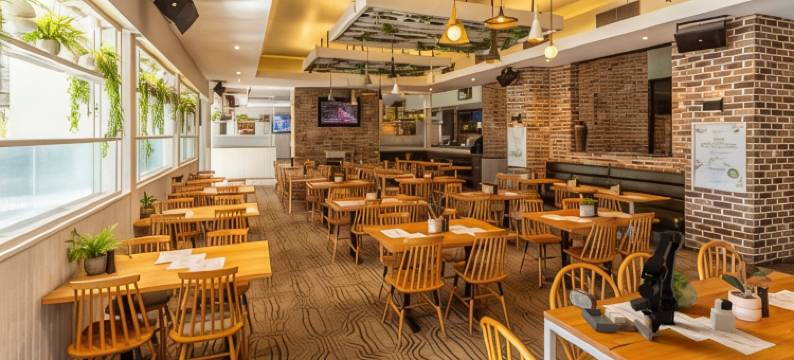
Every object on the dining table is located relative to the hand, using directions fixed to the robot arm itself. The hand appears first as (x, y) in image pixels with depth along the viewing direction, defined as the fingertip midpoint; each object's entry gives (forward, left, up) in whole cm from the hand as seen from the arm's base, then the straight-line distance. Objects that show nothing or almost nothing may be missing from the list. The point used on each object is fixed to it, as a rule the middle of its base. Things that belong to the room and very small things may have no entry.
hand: (651, 330), depth 195 cm
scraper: (0, 0, -2) cm, 2 cm away
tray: (+17, -10, -2) cm, 20 cm away
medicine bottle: (-33, -9, -2) cm, 34 cm away
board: (+9, -10, -2) cm, 14 cm away
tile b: (+11, -7, +1) cm, 13 cm away
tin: (+18, -29, -2) cm, 34 cm away
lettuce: (-24, -35, -2) cm, 42 cm away
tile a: (+11, -13, +1) cm, 17 cm away
